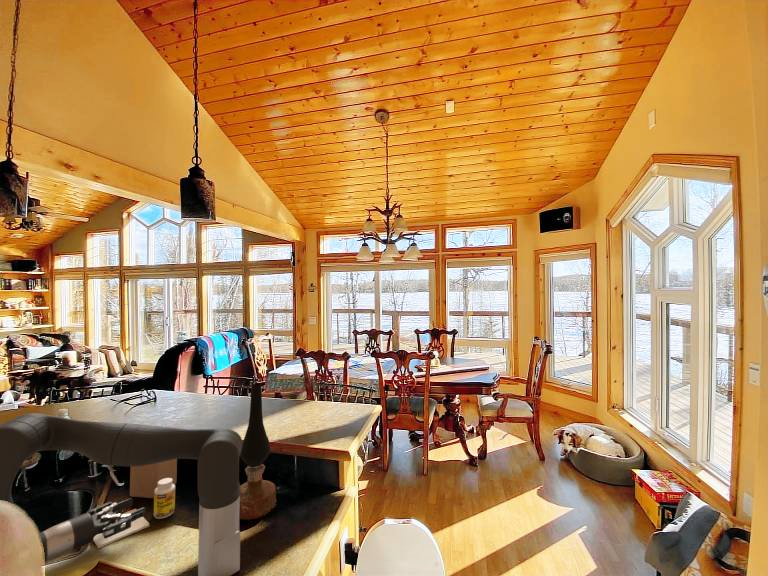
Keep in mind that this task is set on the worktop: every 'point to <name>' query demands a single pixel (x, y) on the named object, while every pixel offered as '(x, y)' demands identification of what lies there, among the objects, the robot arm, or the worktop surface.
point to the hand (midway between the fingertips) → (138, 505)
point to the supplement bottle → (164, 498)
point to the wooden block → (151, 477)
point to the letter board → (135, 527)
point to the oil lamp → (256, 463)
